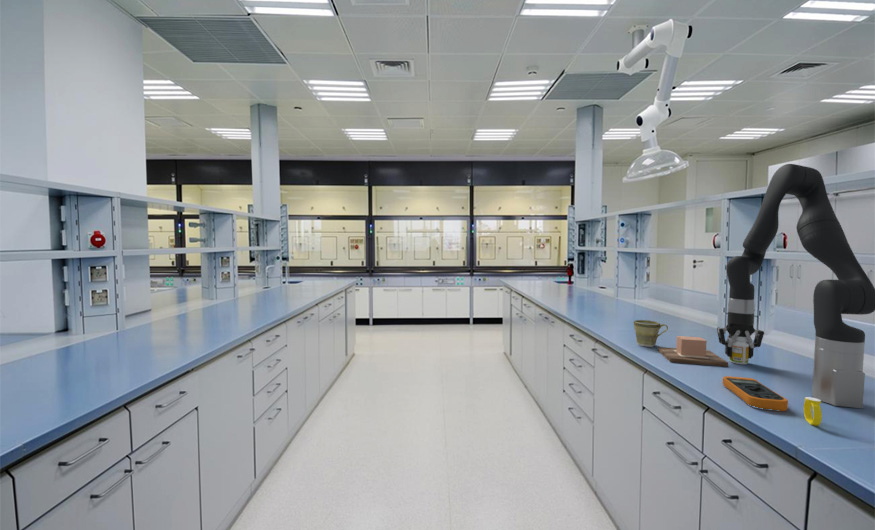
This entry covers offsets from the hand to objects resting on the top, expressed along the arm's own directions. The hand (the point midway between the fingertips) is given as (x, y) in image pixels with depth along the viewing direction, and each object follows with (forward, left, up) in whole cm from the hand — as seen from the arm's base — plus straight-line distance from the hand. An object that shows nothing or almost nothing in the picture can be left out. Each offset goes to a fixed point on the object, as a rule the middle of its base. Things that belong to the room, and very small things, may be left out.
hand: (738, 356), depth 138 cm
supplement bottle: (0, 0, -2) cm, 2 cm away
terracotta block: (+1, +15, 0) cm, 15 cm away
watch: (-51, +6, -2) cm, 51 cm away
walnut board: (+1, +15, -2) cm, 15 cm away
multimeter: (-37, +12, -3) cm, 39 cm away
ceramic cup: (+17, +25, -2) cm, 30 cm away
